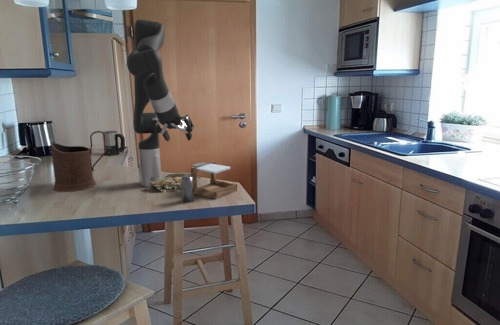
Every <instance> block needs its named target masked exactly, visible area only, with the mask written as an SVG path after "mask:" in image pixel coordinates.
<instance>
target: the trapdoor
mask: <svg viewBox="0 0 500 325" xmlns="http://www.w3.org/2000/svg"><path fill="white" fill-rule="evenodd" d="M191 167H196V172H204V173H209V174H211V173H214V174H216V175H217V174H218V173H221V172H225V171H228V170H231V169H232V168H231V166H228V165H221V164H217V163H216V164H212V163H208V162H203V161H202V162H199V163H194V164H192V165H190V168H191Z"/></svg>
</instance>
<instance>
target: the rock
mask: <svg viewBox="0 0 500 325" xmlns="http://www.w3.org/2000/svg"><path fill="white" fill-rule="evenodd" d="M182 176H191V172H189V173H188V172H180V173H168V174H166V175H165V176H161V177H160V178H157V179H154V180H151V181H149V182H150V183H151V184H152V185H153V186H152V187H154V188H155V189H157V190H158V191H161V192H162V191H173V192H175V191H180V190H182ZM201 179H202V176H198V175H197V183H198V182H199V181H200V180H201ZM179 189H180V190H179Z"/></svg>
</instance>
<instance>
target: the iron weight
mask: <svg viewBox="0 0 500 325" xmlns="http://www.w3.org/2000/svg"><path fill="white" fill-rule="evenodd" d="M181 190H182V203H192V202H194V201H195V200H194V199H195V198H194V197H195V196H194V195H195V194H194V193H193V176H182V189H181Z"/></svg>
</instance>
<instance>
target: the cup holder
mask: <svg viewBox="0 0 500 325" xmlns="http://www.w3.org/2000/svg"><path fill="white" fill-rule="evenodd" d="M103 132H104V131H102V130H96V131H93V132H91V134H90V135H89V140H90V142H89V143H90V148H89V147H87V146H83V145H82V146H81V145H80V146H79V145H78V146H77V145H76V146H75V145H74V146H71V145H70V146H69V145H63V144H59V143H56V142H51V143H50V149H51V157H52V164H53V165H52V166H53V174H54V180H55V181H54V186H53V188H52V190H54V191H55V192H59V193H72V192H75V193H76V192H80V191H86V190H89V189H92V188H95V186H97V182H96V181H95V178H94V175H93V172H94V171H95V169H94V167H95V166H96V165H97V164H98V162H99V161H100V160H101V159H102V158H103V157H104V156H105V155H104V154H105V153H106V141H105V134H104V133H103ZM98 133H100V134H101V135H102V137H103V136H104V144H103V147H104V146H105V152H103V153H102V154H101V155H100V156H99V158H98V159H97V160H96V161H95V163H93V162H92V156H91V154H92V153H93V152H92V149H93V139H92V138H93V135H94V134H98ZM92 163H93V165H92Z"/></svg>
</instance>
